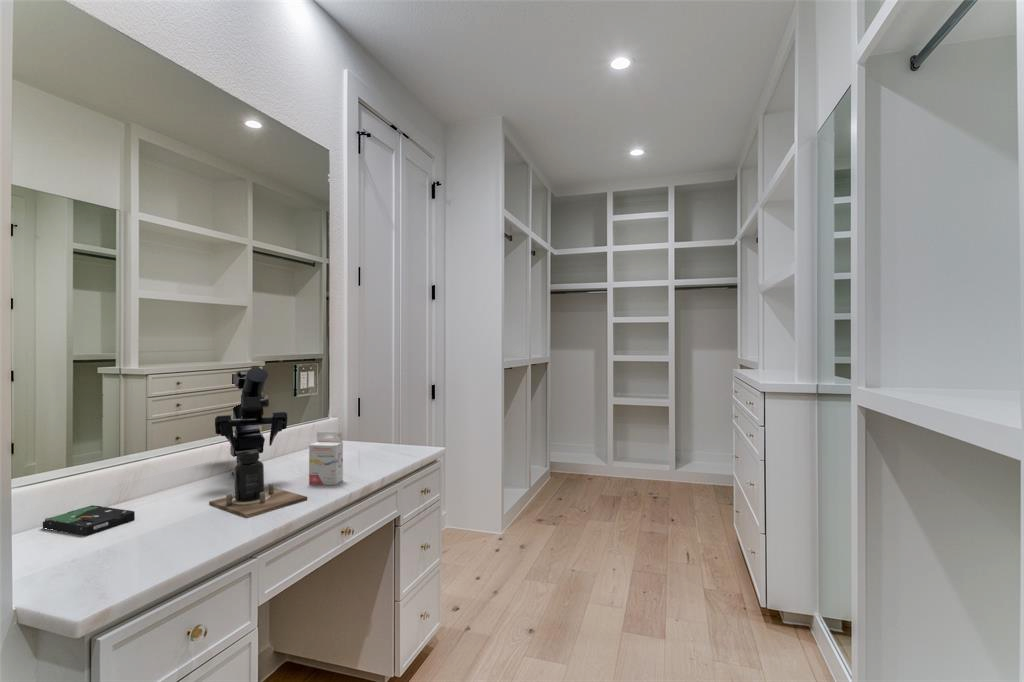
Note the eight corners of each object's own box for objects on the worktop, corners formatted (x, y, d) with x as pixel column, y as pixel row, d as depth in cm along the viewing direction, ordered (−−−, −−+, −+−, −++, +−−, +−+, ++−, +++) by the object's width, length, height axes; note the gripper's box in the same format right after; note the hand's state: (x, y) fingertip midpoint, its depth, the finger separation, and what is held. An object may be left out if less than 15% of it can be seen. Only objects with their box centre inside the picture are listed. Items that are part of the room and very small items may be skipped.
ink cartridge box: (308, 484, 144) (307, 434, 144) (316, 479, 149) (316, 431, 149) (336, 485, 143) (335, 434, 143) (343, 480, 148) (343, 431, 148)
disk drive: (136, 522, 115) (92, 515, 120) (136, 510, 115) (92, 504, 120) (86, 539, 106) (40, 531, 110) (86, 526, 106) (40, 518, 110)
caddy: (209, 504, 126) (209, 491, 126) (269, 489, 139) (268, 477, 139) (246, 517, 116) (246, 503, 116) (307, 499, 129) (307, 487, 129)
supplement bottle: (268, 493, 132) (267, 449, 132) (258, 501, 125) (258, 454, 125) (241, 495, 131) (240, 450, 131) (229, 503, 124) (229, 455, 124)
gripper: (215, 387, 140) (212, 433, 130) (286, 385, 149) (289, 427, 139) (216, 411, 147) (214, 456, 137) (285, 407, 156) (287, 449, 146)
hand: (252, 446), depth 140 cm, fingers open, 9 cm apart
